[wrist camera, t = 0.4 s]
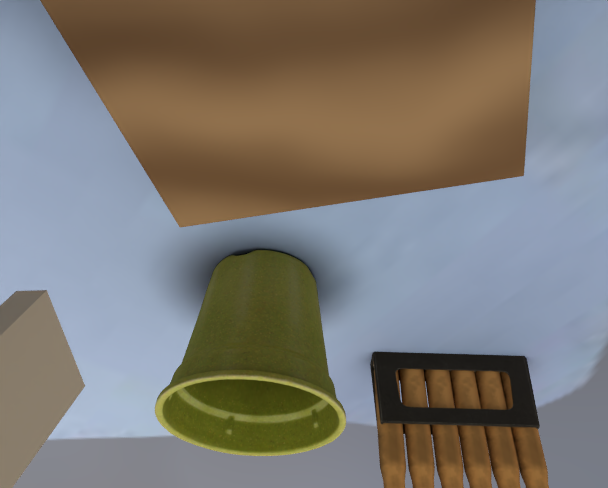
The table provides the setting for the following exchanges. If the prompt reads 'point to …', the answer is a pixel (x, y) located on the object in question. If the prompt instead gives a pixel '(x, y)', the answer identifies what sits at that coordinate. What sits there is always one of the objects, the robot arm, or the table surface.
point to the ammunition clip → (457, 420)
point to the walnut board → (307, 96)
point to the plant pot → (255, 364)
